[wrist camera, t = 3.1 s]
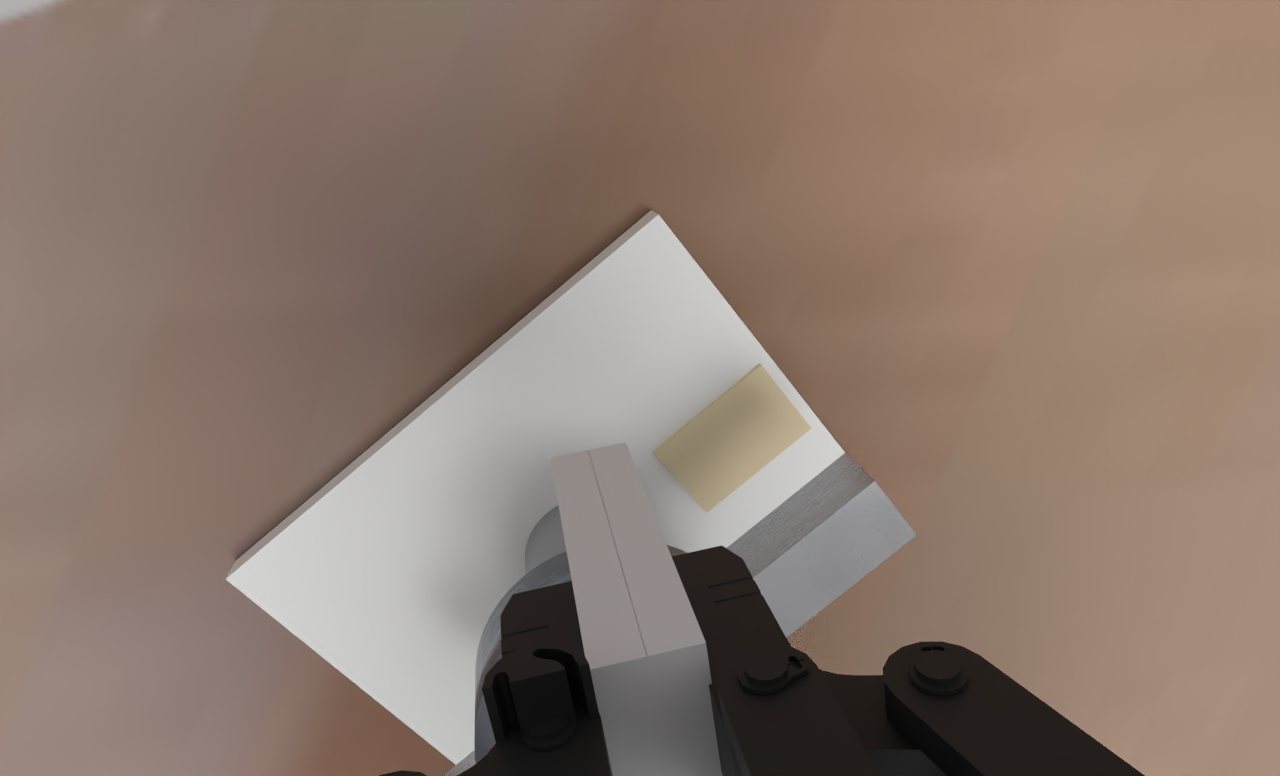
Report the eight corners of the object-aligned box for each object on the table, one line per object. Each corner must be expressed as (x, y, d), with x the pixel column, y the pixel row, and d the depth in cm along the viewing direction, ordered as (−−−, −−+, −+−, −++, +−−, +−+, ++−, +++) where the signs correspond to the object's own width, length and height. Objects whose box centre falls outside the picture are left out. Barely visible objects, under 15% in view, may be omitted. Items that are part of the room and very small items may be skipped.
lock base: (532, 803, 34) (551, 1070, 25) (235, 560, 29) (116, 781, 19) (893, 517, 33) (1058, 684, 23) (651, 209, 27) (738, 264, 18)
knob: (534, 866, 26) (541, 960, 23) (347, 719, 23) (328, 806, 20) (926, 558, 25) (984, 617, 22) (777, 368, 22) (820, 407, 19)
